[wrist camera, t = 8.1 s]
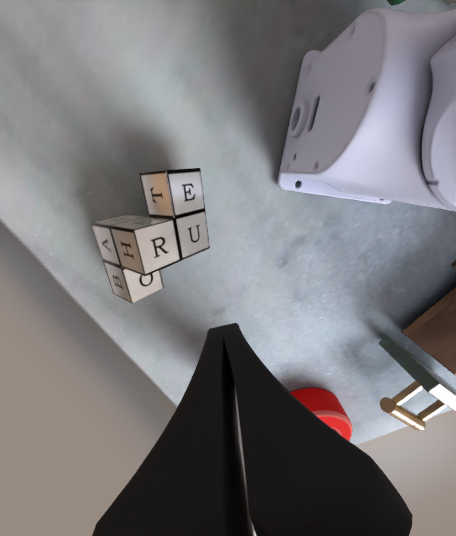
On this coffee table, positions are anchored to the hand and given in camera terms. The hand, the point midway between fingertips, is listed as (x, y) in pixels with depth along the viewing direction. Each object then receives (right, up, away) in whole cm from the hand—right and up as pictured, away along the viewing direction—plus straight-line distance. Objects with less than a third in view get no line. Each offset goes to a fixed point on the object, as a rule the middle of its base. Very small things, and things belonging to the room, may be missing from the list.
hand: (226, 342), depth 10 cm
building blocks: (-5, +2, +7) cm, 9 cm away
